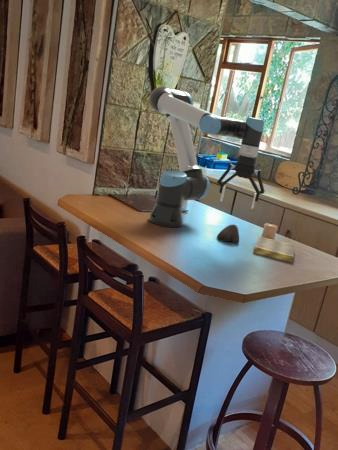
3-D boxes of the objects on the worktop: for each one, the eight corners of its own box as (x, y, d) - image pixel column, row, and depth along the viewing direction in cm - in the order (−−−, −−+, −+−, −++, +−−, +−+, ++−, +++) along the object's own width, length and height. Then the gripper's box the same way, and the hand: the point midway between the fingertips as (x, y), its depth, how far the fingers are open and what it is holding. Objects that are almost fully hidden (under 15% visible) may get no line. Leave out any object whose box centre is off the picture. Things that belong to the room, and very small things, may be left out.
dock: (253, 252, 183) (254, 246, 182) (257, 241, 200) (258, 236, 199) (291, 262, 179) (293, 256, 178) (293, 250, 196) (294, 245, 195)
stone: (226, 252, 189) (246, 239, 188) (215, 236, 188) (235, 223, 187) (223, 248, 199) (242, 236, 198) (213, 232, 198) (232, 220, 197)
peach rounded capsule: (260, 239, 204) (264, 225, 202) (261, 236, 210) (265, 222, 208) (273, 242, 203) (277, 228, 201) (274, 239, 208) (278, 225, 206)
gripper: (217, 150, 183) (206, 199, 189) (277, 162, 177) (264, 213, 183) (220, 149, 190) (210, 196, 196) (278, 161, 184) (266, 209, 190)
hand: (236, 204), depth 190 cm, fingers open, 13 cm apart
